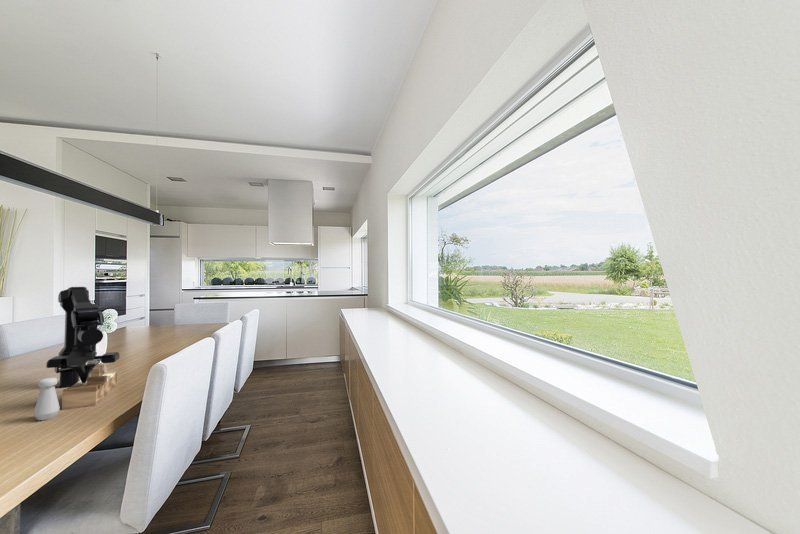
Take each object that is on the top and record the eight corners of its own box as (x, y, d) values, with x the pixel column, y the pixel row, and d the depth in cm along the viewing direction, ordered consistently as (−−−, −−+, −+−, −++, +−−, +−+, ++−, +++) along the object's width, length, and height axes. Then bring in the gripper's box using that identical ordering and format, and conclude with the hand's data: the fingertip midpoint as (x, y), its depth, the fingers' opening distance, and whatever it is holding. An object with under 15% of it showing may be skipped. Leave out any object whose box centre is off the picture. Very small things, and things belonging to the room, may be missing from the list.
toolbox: (88, 388, 131) (88, 371, 131) (116, 385, 135) (117, 369, 135) (61, 409, 112) (62, 390, 112) (95, 405, 116) (96, 386, 116)
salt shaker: (41, 423, 102) (43, 382, 102) (28, 420, 103) (29, 380, 103) (64, 414, 108) (65, 376, 108) (51, 413, 109) (52, 375, 109)
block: (89, 383, 120) (89, 377, 120) (106, 381, 122) (107, 375, 122) (86, 385, 118) (87, 379, 118) (104, 383, 120) (104, 377, 120)
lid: (89, 378, 131) (89, 363, 131) (116, 375, 135) (116, 361, 135) (69, 393, 116) (70, 376, 116) (100, 389, 120) (101, 373, 120)
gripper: (38, 347, 107) (36, 394, 107) (110, 343, 116) (108, 386, 115) (55, 340, 117) (54, 383, 117) (120, 337, 126) (119, 376, 125)
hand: (84, 382), depth 118 cm, fingers closed
